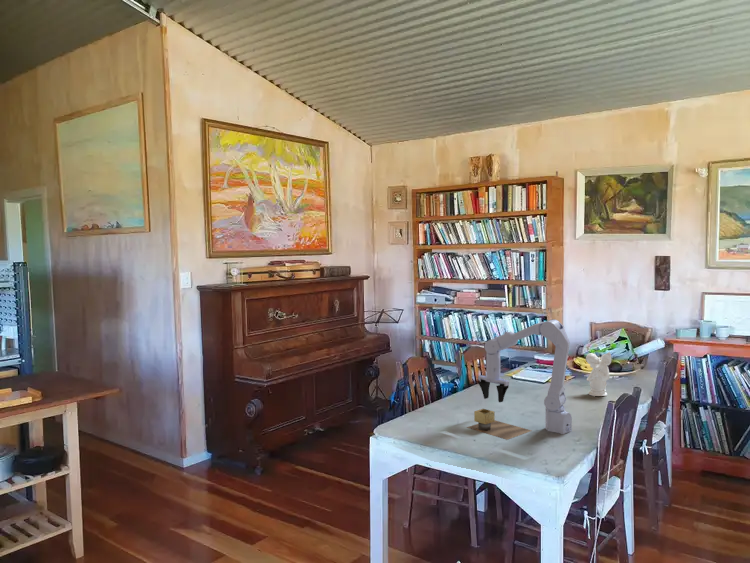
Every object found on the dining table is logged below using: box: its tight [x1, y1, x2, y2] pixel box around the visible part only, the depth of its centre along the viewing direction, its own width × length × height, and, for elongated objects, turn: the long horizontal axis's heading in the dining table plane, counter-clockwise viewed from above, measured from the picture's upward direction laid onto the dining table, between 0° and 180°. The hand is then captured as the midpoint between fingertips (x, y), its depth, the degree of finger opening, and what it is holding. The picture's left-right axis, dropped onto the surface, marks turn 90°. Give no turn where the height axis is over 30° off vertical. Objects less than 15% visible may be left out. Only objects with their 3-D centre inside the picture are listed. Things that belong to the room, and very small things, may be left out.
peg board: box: [466, 420, 533, 441], centre depth 226 cm, size 20×16×6 cm
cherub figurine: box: [585, 351, 612, 397], centre depth 281 cm, size 12×12×22 cm
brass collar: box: [473, 408, 496, 424], centre depth 226 cm, size 6×6×4 cm
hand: (493, 400), depth 238 cm, fingers open, 7 cm apart
